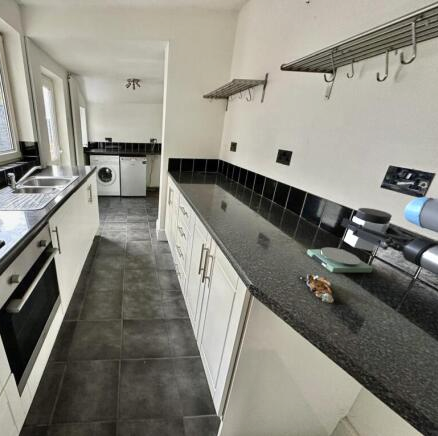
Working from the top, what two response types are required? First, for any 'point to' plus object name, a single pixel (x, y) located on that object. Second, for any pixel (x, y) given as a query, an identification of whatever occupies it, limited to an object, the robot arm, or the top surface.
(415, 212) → the robot arm
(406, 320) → the top surface
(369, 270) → the kitchen scale
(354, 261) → the weighing pan
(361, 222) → the jar
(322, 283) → the pastry
